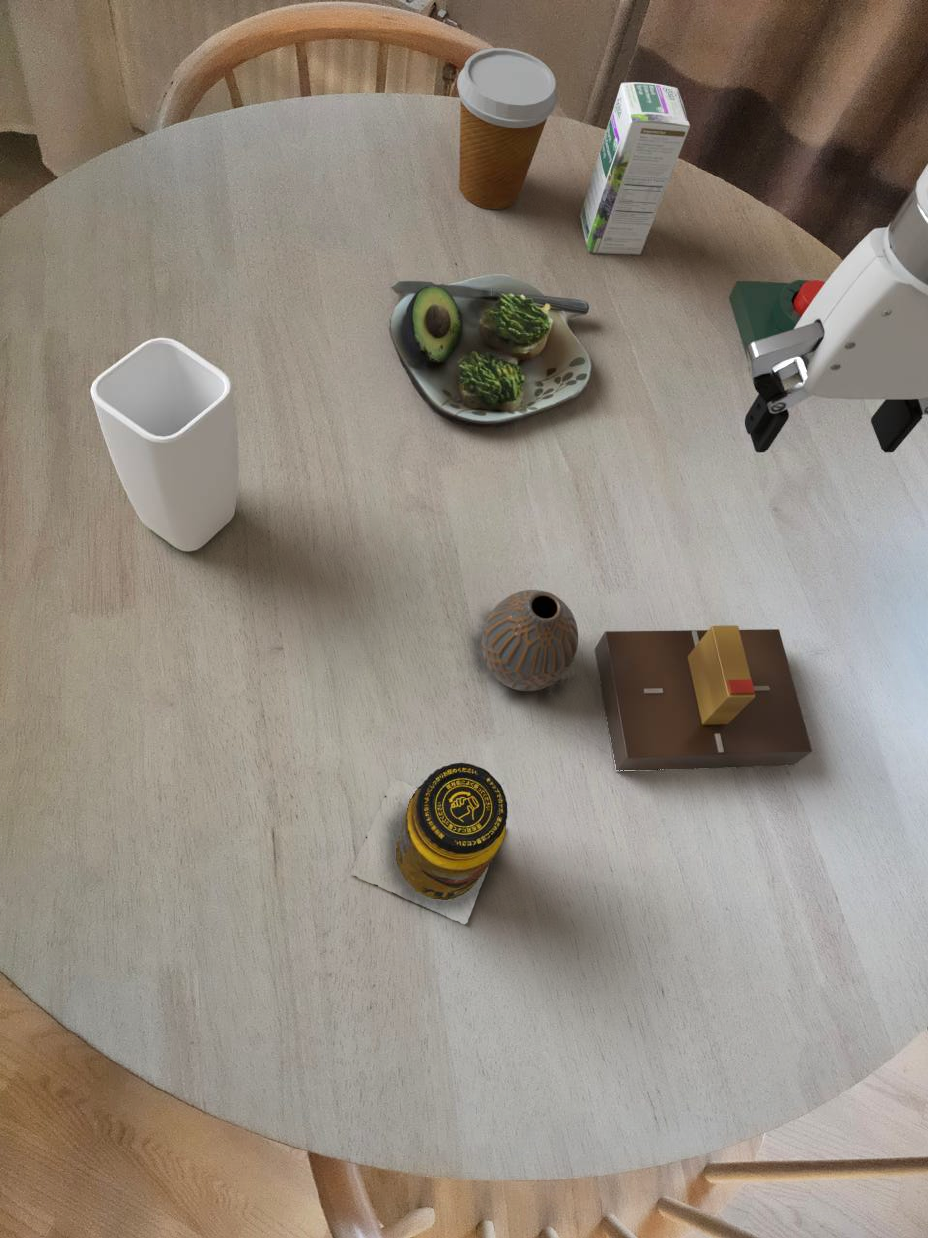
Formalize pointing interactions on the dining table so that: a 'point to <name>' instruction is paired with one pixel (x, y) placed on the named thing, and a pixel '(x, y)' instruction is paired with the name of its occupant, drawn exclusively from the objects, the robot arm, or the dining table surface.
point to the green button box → (764, 309)
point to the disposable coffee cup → (501, 122)
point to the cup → (172, 439)
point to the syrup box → (633, 167)
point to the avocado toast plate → (488, 348)
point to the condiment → (451, 830)
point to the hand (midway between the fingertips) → (818, 436)
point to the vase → (530, 640)
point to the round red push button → (807, 295)
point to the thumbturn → (720, 675)
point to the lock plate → (695, 704)
